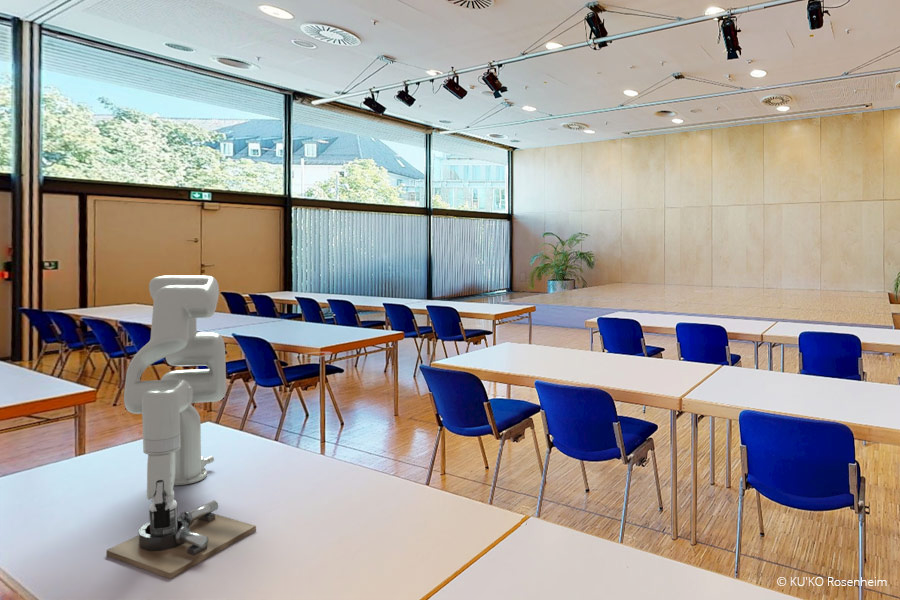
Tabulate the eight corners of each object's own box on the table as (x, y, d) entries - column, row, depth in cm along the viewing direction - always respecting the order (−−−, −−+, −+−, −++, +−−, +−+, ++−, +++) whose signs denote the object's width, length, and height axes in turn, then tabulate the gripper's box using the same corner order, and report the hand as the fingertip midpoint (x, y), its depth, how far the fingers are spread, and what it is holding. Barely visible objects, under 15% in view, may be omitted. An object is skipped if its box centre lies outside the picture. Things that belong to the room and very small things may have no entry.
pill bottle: (156, 529, 140) (155, 488, 139) (181, 529, 141) (180, 487, 140) (145, 541, 135) (144, 498, 134) (172, 541, 135) (171, 498, 134)
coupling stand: (196, 513, 154) (195, 492, 154) (255, 530, 146) (255, 508, 145) (106, 555, 133) (105, 531, 132) (170, 578, 124) (169, 552, 124)
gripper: (148, 432, 143) (150, 507, 144) (137, 457, 126) (139, 541, 128) (183, 430, 145) (185, 503, 147) (176, 454, 129) (178, 536, 131)
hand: (163, 520), depth 137 cm, fingers closed on pill bottle, 5 cm apart
